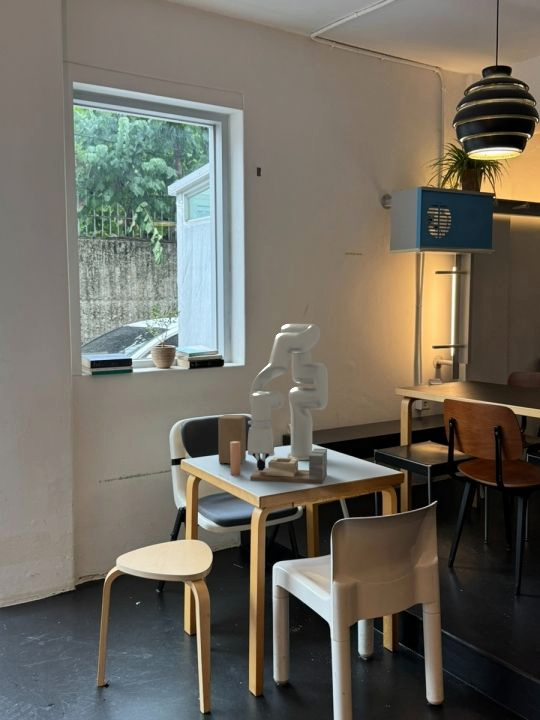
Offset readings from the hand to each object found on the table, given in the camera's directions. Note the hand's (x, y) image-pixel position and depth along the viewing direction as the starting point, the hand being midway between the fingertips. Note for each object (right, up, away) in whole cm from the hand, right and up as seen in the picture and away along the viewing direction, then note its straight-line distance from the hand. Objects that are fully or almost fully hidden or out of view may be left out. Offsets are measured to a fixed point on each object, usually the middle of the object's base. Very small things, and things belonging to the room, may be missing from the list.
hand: (261, 469), depth 274 cm
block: (-13, -1, +25) cm, 28 cm away
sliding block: (+9, -1, -2) cm, 9 cm away
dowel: (-10, -2, +3) cm, 11 cm away
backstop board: (+11, -3, -2) cm, 12 cm away
